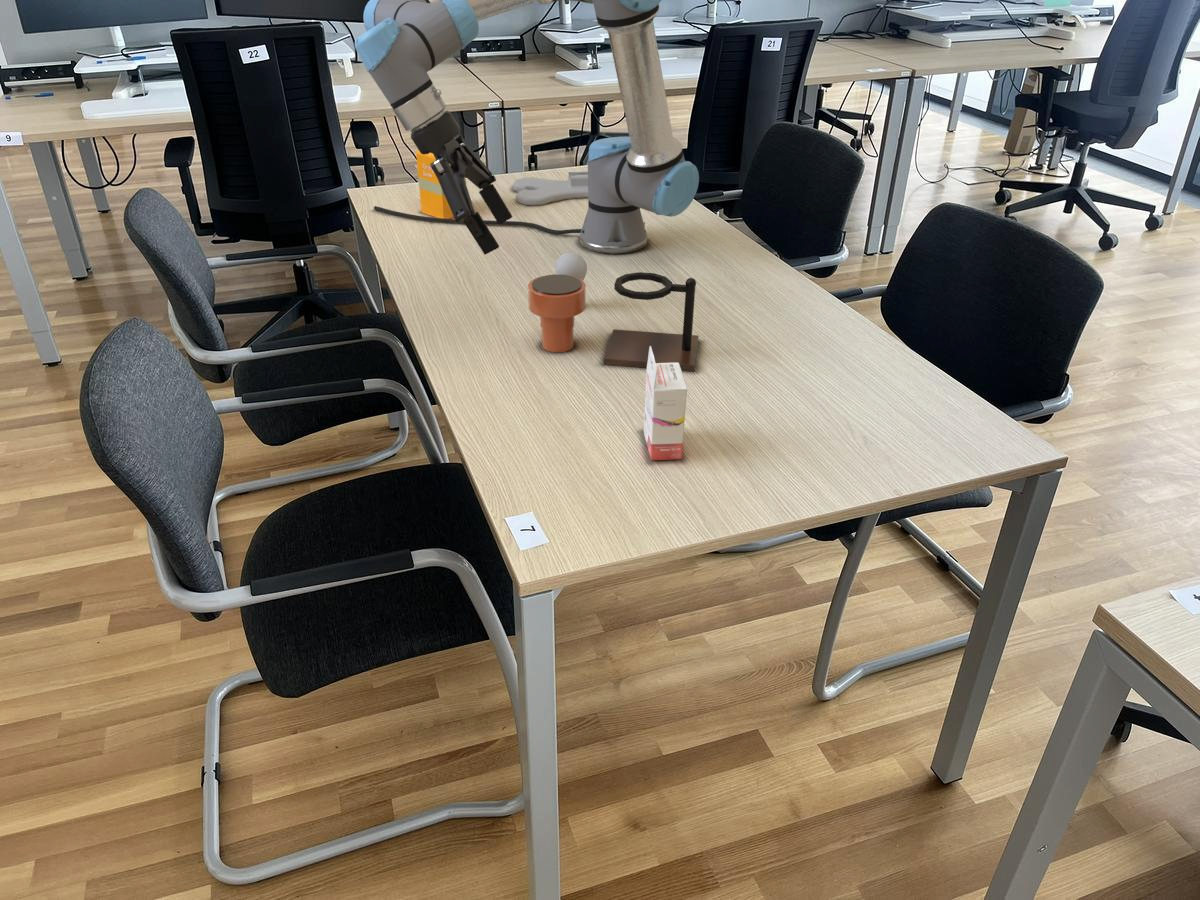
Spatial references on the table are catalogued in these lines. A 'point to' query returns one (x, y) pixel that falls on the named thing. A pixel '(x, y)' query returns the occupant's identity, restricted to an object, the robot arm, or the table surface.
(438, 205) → the orange juice
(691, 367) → the ring stand base
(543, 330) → the terracotta pot
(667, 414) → the ink cartridge box
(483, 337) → the table surface
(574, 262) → the lightbulb
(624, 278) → the ring stand
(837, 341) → the table surface
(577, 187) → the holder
